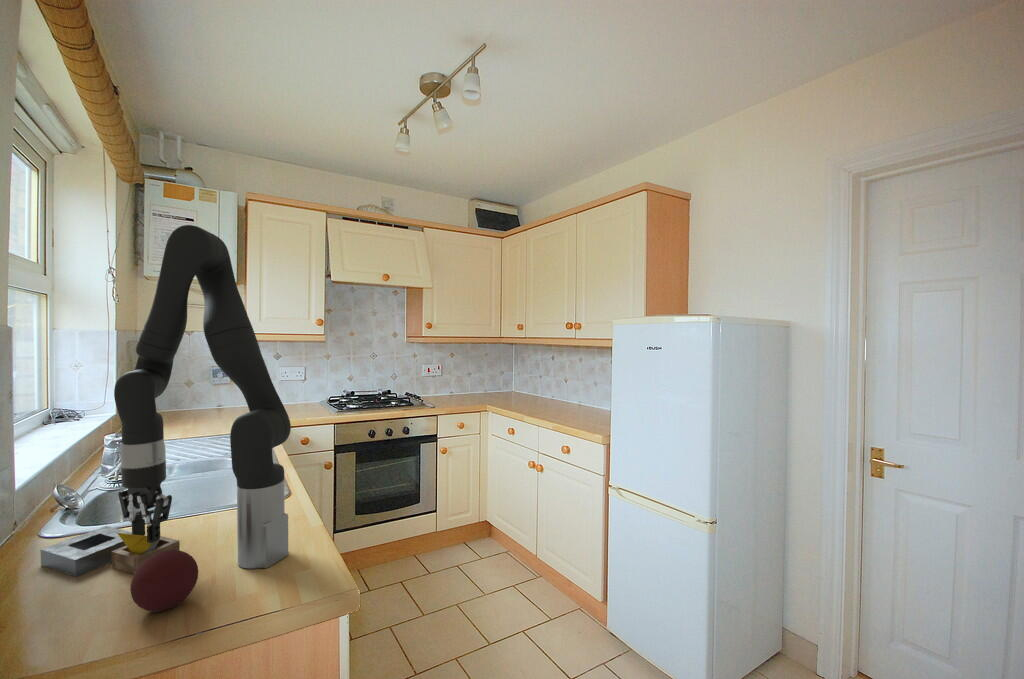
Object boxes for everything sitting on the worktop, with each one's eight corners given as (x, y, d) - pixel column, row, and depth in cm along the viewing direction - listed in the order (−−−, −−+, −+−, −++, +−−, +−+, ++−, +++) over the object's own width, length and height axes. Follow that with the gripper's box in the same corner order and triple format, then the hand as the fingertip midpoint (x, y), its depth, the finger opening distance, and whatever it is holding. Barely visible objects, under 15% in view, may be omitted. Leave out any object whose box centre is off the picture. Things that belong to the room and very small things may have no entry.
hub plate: (140, 549, 105) (140, 534, 105) (75, 576, 94) (75, 560, 93) (106, 540, 109) (106, 525, 109) (41, 565, 98) (40, 549, 97)
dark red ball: (124, 608, 84) (123, 554, 83) (189, 584, 91) (188, 535, 91) (138, 632, 77) (137, 574, 77) (206, 604, 85) (205, 551, 85)
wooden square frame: (179, 555, 102) (179, 540, 102) (138, 575, 94) (137, 558, 94) (154, 549, 105) (153, 534, 105) (111, 567, 97) (111, 551, 97)
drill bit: (160, 563, 98) (117, 541, 93) (144, 570, 100) (100, 549, 94) (175, 539, 102) (134, 517, 97) (159, 546, 104) (118, 525, 99)
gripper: (184, 460, 100) (186, 537, 100) (140, 453, 104) (142, 527, 105) (147, 470, 93) (149, 553, 93) (102, 463, 97) (104, 541, 98)
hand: (146, 539), depth 99 cm, fingers closed on drill bit, 4 cm apart
